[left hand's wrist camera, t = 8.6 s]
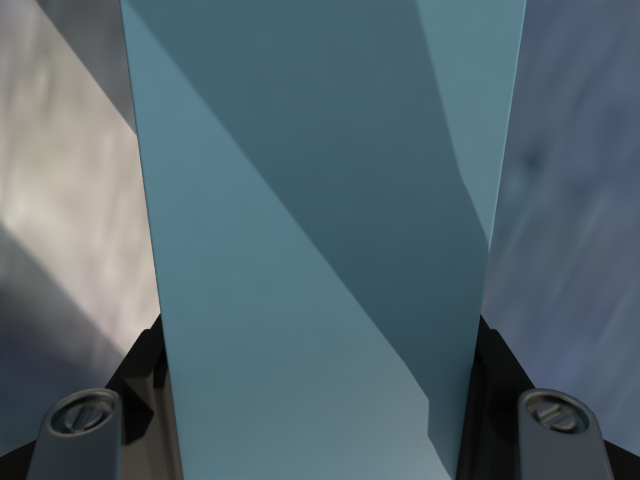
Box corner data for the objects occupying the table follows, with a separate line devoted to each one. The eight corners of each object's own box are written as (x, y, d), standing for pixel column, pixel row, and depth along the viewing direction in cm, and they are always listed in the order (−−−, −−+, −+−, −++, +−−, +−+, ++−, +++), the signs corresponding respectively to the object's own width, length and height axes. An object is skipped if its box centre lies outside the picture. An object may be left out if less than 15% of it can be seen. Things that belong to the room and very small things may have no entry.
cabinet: (231, -251, 14) (-63, -1333, 3) (412, -249, 14) (724, -1321, 3) (257, 303, 21) (191, 553, 10) (380, 303, 21) (446, 554, 10)
